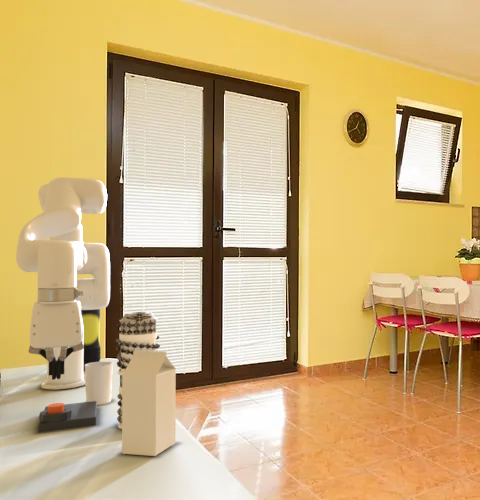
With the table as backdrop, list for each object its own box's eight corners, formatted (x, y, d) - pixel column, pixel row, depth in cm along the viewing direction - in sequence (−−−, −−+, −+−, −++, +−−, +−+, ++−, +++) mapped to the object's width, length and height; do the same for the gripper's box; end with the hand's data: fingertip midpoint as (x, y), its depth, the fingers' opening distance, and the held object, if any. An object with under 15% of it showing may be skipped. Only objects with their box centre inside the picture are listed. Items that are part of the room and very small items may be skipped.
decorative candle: (116, 420, 118) (116, 311, 119) (159, 415, 122) (159, 310, 122) (114, 432, 110) (114, 315, 110) (160, 427, 113) (160, 313, 114)
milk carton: (155, 457, 96) (155, 354, 96) (121, 454, 97) (122, 353, 98) (175, 443, 103) (175, 348, 103) (143, 441, 104) (144, 347, 104)
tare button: (48, 411, 115) (48, 403, 115) (64, 409, 116) (64, 402, 116) (46, 415, 112) (47, 407, 112) (63, 413, 113) (63, 405, 113)
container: (60, 368, 177) (60, 281, 177) (92, 364, 185) (92, 280, 186) (73, 373, 170) (73, 282, 170) (106, 367, 178) (106, 281, 179)
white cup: (92, 399, 137) (93, 361, 137) (117, 399, 137) (117, 361, 137) (79, 405, 130) (79, 366, 131) (104, 405, 130) (105, 366, 130)
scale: (45, 414, 123) (45, 399, 123) (96, 408, 128) (96, 394, 128) (38, 433, 110) (38, 416, 110) (95, 425, 114) (96, 409, 115)
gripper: (94, 293, 121) (94, 371, 121) (20, 295, 115) (19, 377, 115) (94, 296, 115) (93, 378, 114) (15, 298, 108) (14, 385, 108)
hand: (56, 377), depth 115 cm, fingers closed
